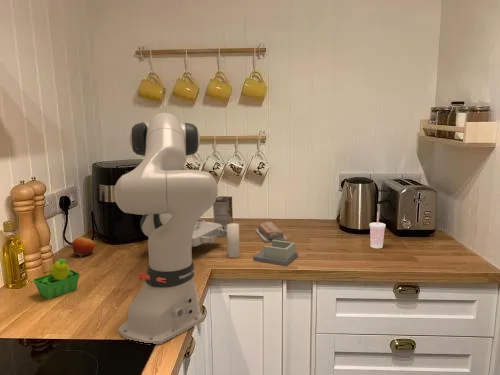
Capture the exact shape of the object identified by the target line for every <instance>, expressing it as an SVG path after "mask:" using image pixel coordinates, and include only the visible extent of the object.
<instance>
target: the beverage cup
mask: <svg viewBox="0 0 500 375" xmlns="http://www.w3.org/2000/svg"><path fill="white" fill-rule="evenodd" d="M376 213H377V214H376V222H369V225H368V226H369V230H370V231H369V233H370V234H369V236H370V238H369V239H370V247H371V248H373V249H381V248H383V247H384V246H383V245H384V237H385V230H386V225H387V224H385V223H383V222H379V216H380V214H379V211H377V212H376Z"/></svg>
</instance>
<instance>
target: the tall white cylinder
mask: <svg viewBox="0 0 500 375" xmlns="http://www.w3.org/2000/svg"><path fill="white" fill-rule="evenodd" d="M226 238H227V240H226V241H227V257H228V256H229V258H230V257H236V258H239V257H240V224H239V223H237V222H233V223H230V224H227V237H226Z"/></svg>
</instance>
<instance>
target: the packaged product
mask: <svg viewBox="0 0 500 375" xmlns="http://www.w3.org/2000/svg"><path fill="white" fill-rule="evenodd" d="M254 231H255V233H256V234H257V235H258V236H259V237H260V239H261V240H262V241H263V242H264V243H272V240H278V241H286V242H288V237H287V236H286V235H285V234H284V232H283V231H282V230H281V229H280V227H278V226H277V225H276V224H275V223H274V222H273V221H266V222H262V223H260V224H258V226H257V229H256V228H255V229H254Z"/></svg>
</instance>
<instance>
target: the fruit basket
mask: <svg viewBox="0 0 500 375" xmlns="http://www.w3.org/2000/svg"><path fill="white" fill-rule="evenodd" d="M67 263H68V262H67V260H66V259H64V258H59V259H58V260H57V261H55V262H54V263H53V264H52V265H51V267H50V268H49V273H50V274H46V275H44V276H40V277H37V278H36V277H35V278H33V280H32V281H33V283H34V284H35V286H36V290H37V291H38V293H39V295H40V294H41V295H42V297H43V296H44V297H43V298H45V297H46V298H45V299H47V298H51V297H53V298H55V297H54V296H56V297H58V296H57V295H59V296H62V295H64V293H65V294H67V293H70V292H73V291H76V290H77V286H78V283H79V278H80V276H81V273H79V272H78V271H75V270H73V269H71V268H70V266H69V264H67ZM61 294H62V295H61ZM41 295H40V296H41ZM51 299H52V298H51Z"/></svg>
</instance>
